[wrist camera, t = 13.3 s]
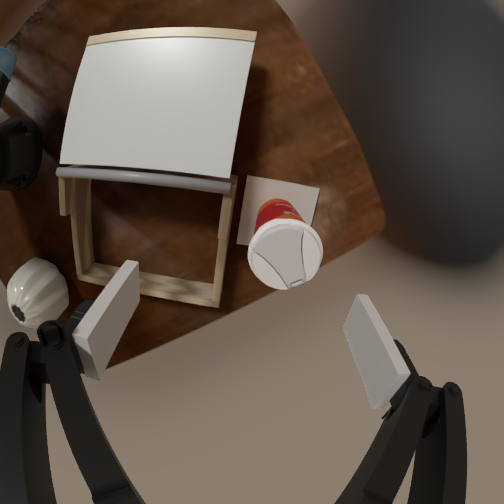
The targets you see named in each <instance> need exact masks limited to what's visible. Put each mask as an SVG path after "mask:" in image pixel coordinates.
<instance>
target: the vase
mask: <svg viewBox="0 0 504 504" xmlns="http://www.w3.org/2000/svg"><path fill="white" fill-rule="evenodd" d="M7 300H8V305H9V308H10V311H11V313H12V314H13V316H14V318H15V319H16V320H18V322H19V323H20V324H21V325H23V326H25V327H27V328H30V329H38V327H39V325H40V324H42V323H43V322H45V321H48V320H57V319H58V318H59V317H60V316H61V314H62V312H63V311H64V310H65V309H66V308H67V306H68V304H69V294H68V287H67V283H66V280H65V277H64V276H63V275H62V274H61V273H60V272H59V270H58V268H57V266H55V265H54V264H52V263H50V262H49V261H47V260H44V259H40V258H36V257H34V258H32V259H30V260H29V261H28V262H27V263H26V264H24V265H23V266H21V267H20V268H19V269H18V270H17V271H16V272H15V274H14V275H13V276H12V278H11V279H10V281H9V283H8V286H7Z"/></svg>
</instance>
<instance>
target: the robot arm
mask: <svg viewBox="0 0 504 504" xmlns="http://www.w3.org/2000/svg"><path fill="white" fill-rule="evenodd" d="M16 60H17V57H16V54H15V53H14V52H13V51H11V50H9V49H6V48H3V47H0V108H1V105H2V101H3V98H4V95H5V92H6V89H7V86H8V83H9V82H10V81H11V75H12V72H13V69H14V67H15V64H16ZM41 155H42V143H41V137H40V133H39V130H38V127H37V125H36V124H35V122H34V121H33V120H32V119H31V118H29V117H28V116H14V117H11V118H9V119H7V120H6V121H4V122H2V123H1V124H0V190H9V191H16V190H19V189H22V188H24V187H26V186H28V185H29V184H30V183H31V182H32V181H33V180H34V178H35V177H36V175H37V172H38V170H39V167H40V162H41ZM139 302H140V291H139V263H138V262H136V261H130V260H126V261H125V263H124V264H123V265H122V266H121V268H120V269H119V270H118V271H117V273H116V274H115V275H114V277H113V278H112V279H111V280H110V282H109V283H108V284H107V286H106V287H105V288H104V290H103V291H102V292H101V294H100V295H99V296H98V298H97V299H96V301H92V300H88V299H87V300H85V301H84V302H82V303H81V304H80V305H79V306H78V307H77V308H76V310H75V312H73V314H72V315H71V317H70V318H69V319H68V320H67V322H66V323H65V325H64V326H63V325H62V323H60V322H59V321H56V320H48V321H45V322H43V323H42V324H40V325H39V327H38V329H37V335H38V338H39V340H40V342H38V341H30V340H29V338H28V336H27V334H25V333H23V332H16V333H13V334H11V335H10V336H9V337H8V339H7V341H6V345H5V349H4V353H3V358H2V363H1V369H0V504H57V503H56V499H55V494H54V488H53V483H52V477H51V471H50V463H49V455H48V446H47V434H46V411H45V410H46V407H45V394H46V392H45V391H46V383H47V384H50V386H51V390H52V394H53V397H54V401H55V404H56V408H57V411H58V414H59V417H60V420H61V423H62V426H63V429H64V432H65V434H66V437H67V440H68V443H69V445H70V448H71V450H72V453H73V455H74V457H75V459H76V462H77V464H78V466H79V469H80V471H81V473H82V475H83V477H84V479H85V481H86V483H87V485H88V487H89V489H90V491H91V494H92V500H93V502H94V504H146V503H145V502H144V500H143V499H142V498H141V496H140V495H139V493H138V492H137V490H136V489H135V487H134V486H133V484H132V482H131V481H130V479H129V478H128V476H127V474H126V473H125V471H124V469H123V467H122V466H121V464H120V462H119V460H118V459H117V457H116V455H115V453H114V451H113V450H112V447H111V445H110V444H109V442H108V440H107V438H106V436H105V434H104V431H103V429H102V427H101V425H100V423H99V421H98V418H97V416H96V415H95V412H94V409H93V407H92V404H91V402H90V400H89V397H88V395H87V392H86V389H85V387H84V384H83V381H82V378H81V376H80V374H81V372H82V370H83V369H84V372H85V375H86V376H87V377H90V378H93V379H96V380H100V379H101V377H102V375H103V373H104V371H105V369H106V367H107V364H108V362H109V360H110V358H111V356H112V354H113V352H114V350H115V348H116V346H117V344H118V342H119V340H120V338H121V336H122V334H123V332H124V330H125V328H126V326H127V324H128V322H129V320H130V318H131V317H132V315H133V313H134V311H135V309H136V307H137V305H138V303H139ZM342 329H343V331H344V334H345V336H346V339H347V342H348V344H349V347H350V350H351V352H352V355H353V357H354V360H355V363H356V366H357V368H358V371H359V374H360V377H361V379H362V382H363V385H364V388H365V391H366V394H367V396H368V399H369V402H370V405H371V408H372V409H379V408H384V407H385V406H386V405H387V404H388V402H389V401H390V403H391V405H392V407H391V408H390V409H389V410H388V411H387V412H386V413H385V415H384V416H383V417H382V419H384V418H385V419H384V421H383V423H382V425H381V427H380V429H379V431H378V433H377V435H376V437H375V439H374V441H373V443H372V444H371V446H370V448H369V450H368V452H367V454H366V455H365V457H364V459H363V461H362V462H361V464H360V466H359V467H358V469H357V471H356V472H355V474H354V476H353V477H352V479H351V480H350V482H349V483H348V485H347V486H346V488H345V489H344V491H343V492H342V494H341V495H340V497H339V498H338V499H337V501H336V502H335V504H392V502H393V500H394V498H395V496H396V494H397V492H398V490H399V487H400V486H401V484H402V481H403V479H404V477H405V475H406V472H407V470H408V467H409V465H410V462H411V460H412V457H413V455H414V452H415V461H414V468H413V475H412V481H411V487H410V493H409V498H408V503H407V504H465V498H466V482H467V441H466V425H465V414H464V405H463V397H462V392H461V389H460V388H459V386H458V385H457V384H455V383H453V382H447V383H446V384H445V385H444V386H443V388H439V387H434V386H433V385H432V383H431V382H430V381H429V380H428V379H427V378H425V377H422V376H419V375H418V373H417V371H416V369H415V367H414V365H413V363H412V362H411V360H410V359H409V356H408V355H407V354H406V351H405V349H404V347H403V345H401V344H400V343H399V341H398V340H393V339H392V337H391V335H390V333H389V332H388V330H387V328H386V326H385V325H384V323H383V321H382V319H381V317H380V316H379V314H378V313H377V311H376V309H375V307H374V305H373V304H372V302H371V300H370V299H369V297H368V295H361V294H357V295H356V298H355V300H354V302H353V305H352V307H351V309H350V312H349V314H348V316H347V319H346V321H345V323H344V325H343V328H342ZM415 449H416V451H415Z"/></svg>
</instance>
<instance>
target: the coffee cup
mask: <svg viewBox="0 0 504 504" xmlns="http://www.w3.org/2000/svg"><path fill="white" fill-rule="evenodd" d="M322 257H323V247H322V243H321V240H320V238H319V236H318V234H317V233H316V231H315V230H314V229H313V228H312V227H310V226H309V225H307V224H306V223H305V221H304V220H303V218H302V217H301V216H300V214H299V213H298V212H297V211H296V209H295V208H294V207H293V206H292V205H291V204H290V203H289V202H288V201H286V200H283V199H271V200H269V201H267V202H265V203H264V204H263V205H262V206H261V208H260V209H259V212H258V215H257V219H256V225H255V230H254V236H253V238H252V240H251V242H250V244H249V248H248V261H249V265H250V267H251V270H252V271H253V273H254V274H255V275H256V276H257V277H258V278H259V279H260V280H261V281H262V282H263V283H265V284H266V285H268V286H270V287H272V288H276V289H281V290H288V288H291V287H293V288H294V287H297V286H300V285H302V284H303V283H304V282H307V281H309V280H311V279H312V278H313V276H314V275H315V274H316V272H317V271H318V268H319V266H320V264H321V261H322Z"/></svg>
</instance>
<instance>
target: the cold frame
mask: <svg viewBox="0 0 504 504" xmlns="http://www.w3.org/2000/svg"><path fill="white" fill-rule="evenodd" d="M67 168H90V169H107V170H121V171H134V172H145V173H156V174H165V175H175V176H183V177H192V178H200V179H207V180H215V181H222V182H229V183H231V190H230V194H224V193H221V194H223V200H222V207H221V215H220V223H219V230H218V238H217V239H219V244H218V252H217V260H216V269H215V277H214V284H209V283H203V282H197V281H191V280H185V279H179V278H174V277H168V276H162V275H157V274H151V273H146V272H140V271H139V291H140V294H144V295H149V296H154V297H159V298H165V299H170V300H175V301H181V302H187V303H192V304H198V305H204V306H210V307H216V308H219V303H220V298H221V293H222V286H223V279H224V271H225V264H226V256H227V249H228V242H229V235H230V228H231V221H232V214H233V208H234V201H235V195H236V188H237V182H238V175H231V174H230V178H223V177H216V176H209V175H201V174H193V173H185V172H176V171H166V170H156V169H145V168H133V167H120V166H104V165H84V164H74V165H71V166H68V167H67ZM95 180H101V179H95ZM108 181H113V180H108ZM119 182H124V181H119ZM130 183H135V182H130ZM140 184H145V183H140ZM150 185H154V184H150ZM159 186H163V185H159ZM168 187H172V186H168ZM176 188H180V187H176ZM184 189H188V188H184ZM192 190H195V189H192ZM199 191H203V190H199ZM207 192H210V191H207ZM214 193H217V192H214ZM59 205H60V215H61V216H67V215H69V214H70V213H71V226H72V238H73V247H74V256H75V263H76V270H77V277H78V280H82V281H86V282H90V283H94V284H98V285H103V286H107V284H108V283H109V282H110V280H111V279H112V278H113V277H114V275H115V274H116V273H117V271H118V270H119V269H120V267H115V266H110V265H105V264H100V263H95V260H94V250H93V236H92V218H91V179H87V178H71V177H59Z"/></svg>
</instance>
